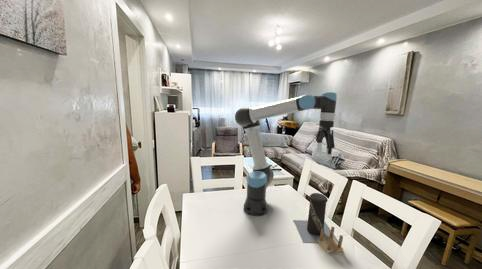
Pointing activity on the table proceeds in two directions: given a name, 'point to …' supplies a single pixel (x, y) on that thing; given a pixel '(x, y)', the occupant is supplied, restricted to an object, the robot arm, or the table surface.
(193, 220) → the table surface
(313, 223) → the container
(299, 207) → the table surface
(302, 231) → the mat
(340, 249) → the stool
